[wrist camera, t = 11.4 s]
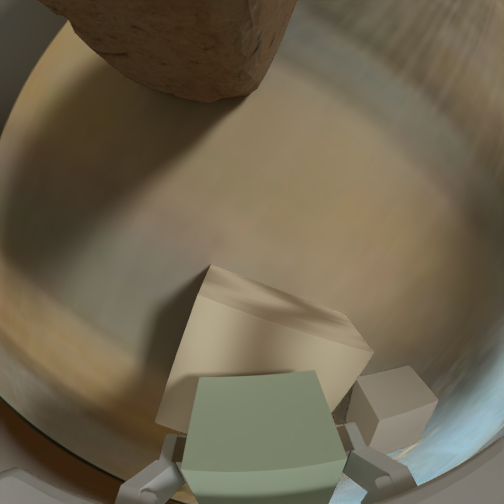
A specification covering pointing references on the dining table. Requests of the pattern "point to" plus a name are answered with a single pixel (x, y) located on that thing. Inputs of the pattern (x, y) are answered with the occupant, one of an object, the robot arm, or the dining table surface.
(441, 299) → the dining table surface
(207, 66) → the block
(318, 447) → the sage cube
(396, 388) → the offwhite cube
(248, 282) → the base block
